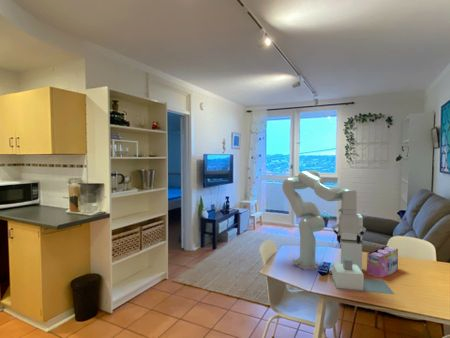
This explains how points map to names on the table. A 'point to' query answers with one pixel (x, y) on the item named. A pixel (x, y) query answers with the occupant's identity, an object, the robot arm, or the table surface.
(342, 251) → the tall pale grey box
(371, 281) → the board
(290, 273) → the table surface
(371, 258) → the gum box
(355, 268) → the cover
